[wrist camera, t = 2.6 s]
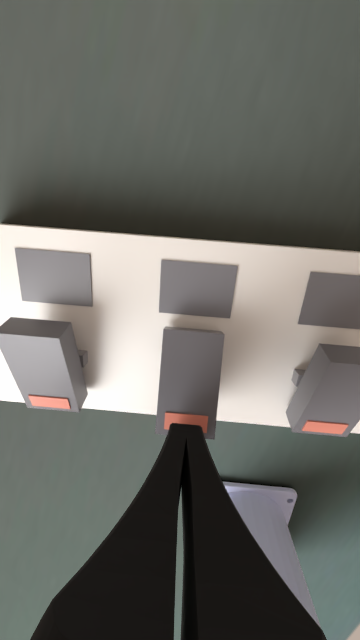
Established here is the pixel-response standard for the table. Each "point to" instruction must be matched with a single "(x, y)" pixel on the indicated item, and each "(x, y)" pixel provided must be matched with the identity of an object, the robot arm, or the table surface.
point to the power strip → (181, 310)
